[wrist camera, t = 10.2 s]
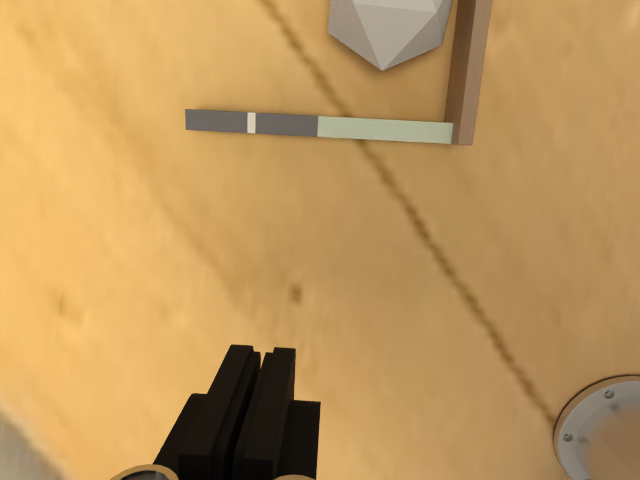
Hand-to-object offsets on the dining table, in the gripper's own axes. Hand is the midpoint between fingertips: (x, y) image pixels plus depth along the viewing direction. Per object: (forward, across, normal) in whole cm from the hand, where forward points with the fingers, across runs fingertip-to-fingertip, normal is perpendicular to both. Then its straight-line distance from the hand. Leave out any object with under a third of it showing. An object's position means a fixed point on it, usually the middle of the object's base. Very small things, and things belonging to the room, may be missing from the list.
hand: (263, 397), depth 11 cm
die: (+27, -5, -15) cm, 32 cm away
